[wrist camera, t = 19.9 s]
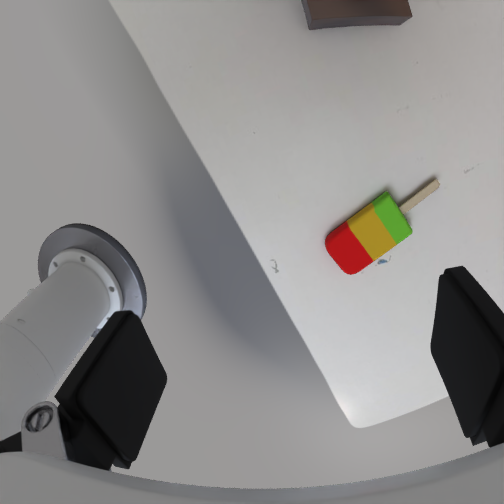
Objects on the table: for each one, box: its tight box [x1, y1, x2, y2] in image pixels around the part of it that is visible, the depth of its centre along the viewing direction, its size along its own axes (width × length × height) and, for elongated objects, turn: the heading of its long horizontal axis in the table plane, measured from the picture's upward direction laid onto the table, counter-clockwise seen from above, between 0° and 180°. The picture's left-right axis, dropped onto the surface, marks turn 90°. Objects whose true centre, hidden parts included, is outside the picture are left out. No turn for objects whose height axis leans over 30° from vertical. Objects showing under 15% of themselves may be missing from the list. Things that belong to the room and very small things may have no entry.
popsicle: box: [325, 179, 440, 275], centre depth 33 cm, size 6×15×2 cm, turn 132°
